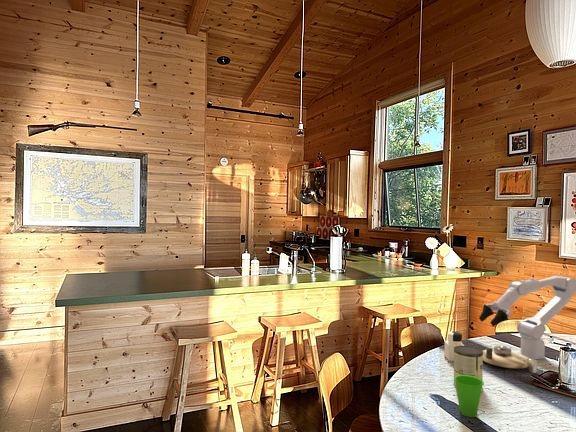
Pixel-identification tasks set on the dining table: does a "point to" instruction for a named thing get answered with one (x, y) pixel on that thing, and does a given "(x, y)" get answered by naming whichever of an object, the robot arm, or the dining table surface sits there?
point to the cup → (468, 394)
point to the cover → (502, 350)
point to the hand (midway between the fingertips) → (486, 322)
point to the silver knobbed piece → (531, 365)
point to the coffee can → (468, 361)
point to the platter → (505, 359)
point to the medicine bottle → (452, 344)
